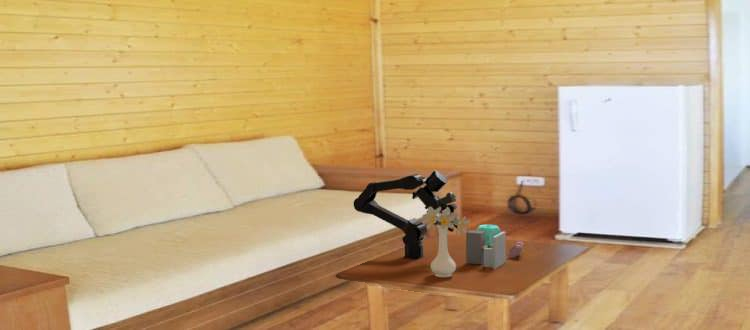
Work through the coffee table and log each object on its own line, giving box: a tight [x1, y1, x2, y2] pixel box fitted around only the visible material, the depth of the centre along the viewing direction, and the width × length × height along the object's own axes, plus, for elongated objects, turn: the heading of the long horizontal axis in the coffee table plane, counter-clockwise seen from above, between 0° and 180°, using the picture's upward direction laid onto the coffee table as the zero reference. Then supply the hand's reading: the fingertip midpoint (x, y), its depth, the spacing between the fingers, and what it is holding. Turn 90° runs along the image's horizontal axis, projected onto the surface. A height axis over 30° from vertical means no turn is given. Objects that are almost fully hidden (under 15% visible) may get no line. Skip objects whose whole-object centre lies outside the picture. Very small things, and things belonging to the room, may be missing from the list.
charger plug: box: [465, 229, 489, 265], centre depth 330 cm, size 8×5×12 cm, turn 62°
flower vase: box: [421, 207, 471, 278], centre depth 311 cm, size 13×18×25 cm
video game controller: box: [507, 240, 524, 259], centre depth 342 cm, size 10×5×7 cm, turn 169°
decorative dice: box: [475, 224, 502, 248], centre depth 364 cm, size 8×8×8 cm
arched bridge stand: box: [483, 231, 507, 270], centre depth 327 cm, size 5×12×12 cm, turn 152°
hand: (456, 229), depth 333 cm, fingers open, 6 cm apart
